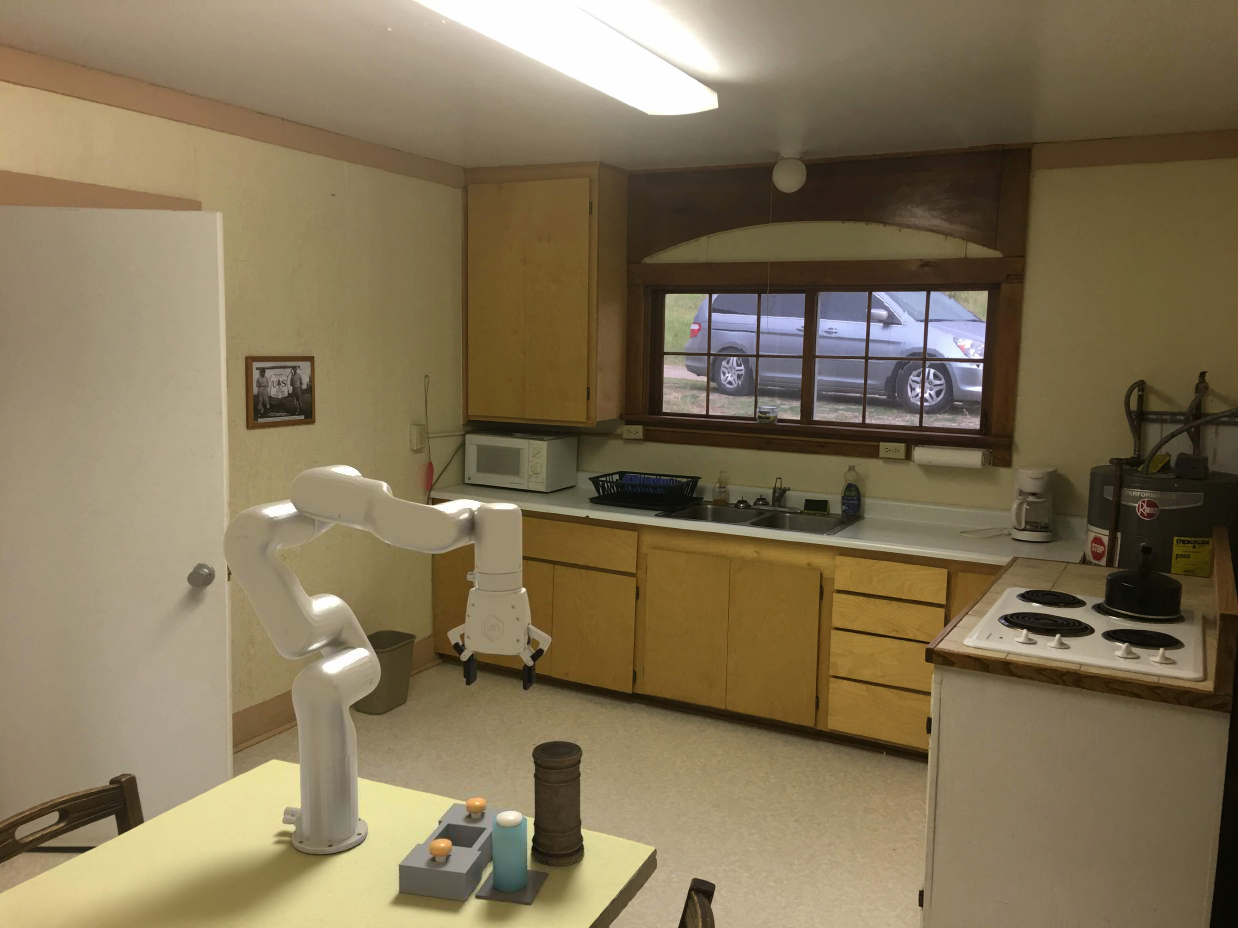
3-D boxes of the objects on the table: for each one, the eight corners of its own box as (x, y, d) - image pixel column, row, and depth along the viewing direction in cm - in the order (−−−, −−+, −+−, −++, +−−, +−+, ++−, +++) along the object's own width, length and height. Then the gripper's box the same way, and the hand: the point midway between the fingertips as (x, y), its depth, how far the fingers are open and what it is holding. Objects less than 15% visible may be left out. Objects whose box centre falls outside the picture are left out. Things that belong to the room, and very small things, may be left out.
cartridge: (487, 889, 145) (487, 822, 144) (500, 872, 150) (499, 807, 150) (521, 893, 144) (520, 825, 143) (532, 876, 149) (531, 810, 148)
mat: (475, 896, 144) (475, 894, 144) (495, 867, 153) (495, 865, 153) (530, 904, 142) (530, 901, 142) (548, 874, 151) (548, 871, 151)
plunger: (426, 885, 146) (425, 847, 145) (435, 874, 149) (434, 837, 149) (446, 888, 145) (446, 850, 145) (455, 877, 148) (454, 839, 148)
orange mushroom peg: (463, 840, 160) (462, 805, 160) (470, 830, 164) (470, 796, 163) (482, 842, 160) (481, 807, 159) (489, 832, 163) (488, 798, 162)
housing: (399, 891, 145) (398, 864, 145) (454, 827, 166) (454, 802, 166) (465, 901, 143) (465, 872, 142) (513, 833, 164) (512, 809, 163)
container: (577, 869, 152) (577, 762, 151) (524, 863, 154) (523, 757, 152) (589, 842, 161) (590, 741, 159) (539, 837, 163) (539, 737, 161)
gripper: (438, 582, 148) (439, 688, 149) (543, 588, 144) (543, 697, 145) (457, 573, 155) (458, 674, 156) (557, 578, 151) (557, 682, 153)
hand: (499, 685), depth 151 cm, fingers open, 9 cm apart
